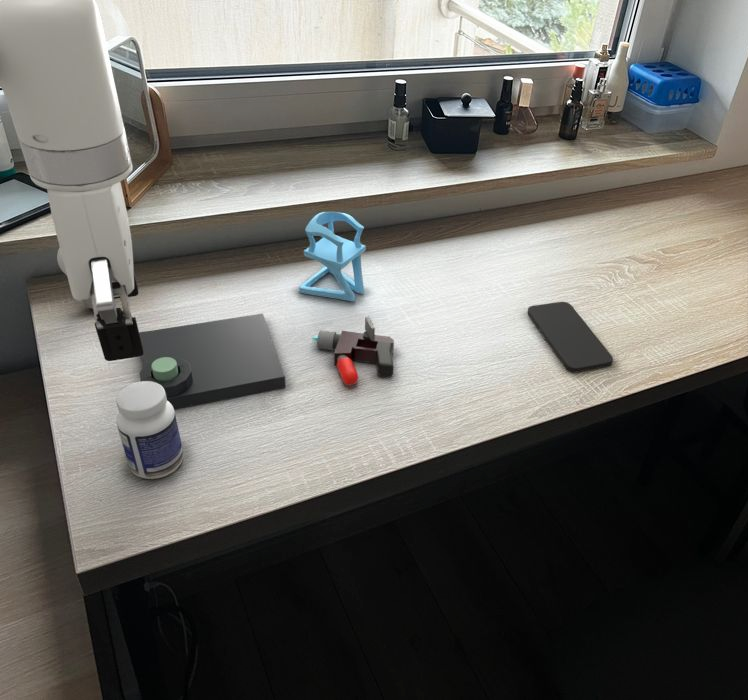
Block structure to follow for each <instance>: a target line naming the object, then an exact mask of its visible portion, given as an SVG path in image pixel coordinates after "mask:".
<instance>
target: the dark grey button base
mask: <svg viewBox="0 0 748 700" xmlns="http://www.w3.org/2000/svg"><path fill="white" fill-rule="evenodd" d="M139 334H140V338H141V342H142V346H143V352H144V354H143V355H142V356H141V363H142V368H141V370H140V371H139V378H140V380H139V381H140V382H142V381H151V382H155V383H158V384H160V385H161V386H162V387H163V388H164V390H165V393H166V397H167V401H169V402H170V403H171V405H172V406H173V408H174V410H177V409H182V408H188V407H192V406H197V405H203V404H207V403H213V402H218V401H224V400H228V399H229V400H230V399H234V398H239V397H245V396H249V395H254V394H260V393H264V392H265V393H266V392H271V391H276V390H281V389H286V387H287V386H286V376H285V372H284V369H283V368H282V363H281V361H280V358H279V356H278V353H277V350H276V348H275V347H276V346H275V344H274V342H273V341H274V340H273V339H272V336H271V332H270V330H269V327H268V324H267V321H266V318H265V316H264V313H257V314H251V315H244V316H237V317H231V318H224V319H218V320H211V321H205V322H198V323H191V324H186V325H185V324H184V325H178V326H173V327H167V328H166V327H165V328H159V329H152V330H145V331H139ZM163 357H170V358H173V359H174V360H175V361H176V362H177V367H178V375H177V377H176V378H174V379H172V380H169V381H158V380H156V379H155V378H154V376H153V371H152V367H151V366H152V363H153V362H154V361H155V360H157V359H159V358H163Z"/></svg>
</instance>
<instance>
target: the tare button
mask: <svg viewBox="0 0 748 700" xmlns="http://www.w3.org/2000/svg"><path fill="white" fill-rule="evenodd" d="M151 367H152V371H153V376H154V378H155V379H156V380H158V381H169V380H172V379H174V378H176V377H177V375H178V367H177V362H176V361H175V360H174V359H173V358H170V357H163V358H159V359H157V360H155V361H154V362H153V363H152V366H151Z"/></svg>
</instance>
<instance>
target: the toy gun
mask: <svg viewBox="0 0 748 700" xmlns="http://www.w3.org/2000/svg"><path fill="white" fill-rule="evenodd" d="M375 329H376V327H375V325H374V324H373V321H372V320H371V318H370V316H369V315H368V316H365V317H364V330H365V331H364V332H356V331H349V330H348V331H347V330H341V332H340V333H337V332H336V331H330V330H321V329H320V330H318V332H317V333H318V334H317V336H314V337H311V339H312V340H314V341H316V347H317V349H321V350H330V351H334V352H333V364H334V366H336V368H337V370H338V373H339V376H340V378H341V381H342V382H343V384H344V385H347V386H353V385H355V384H356V383H357V382H358V381H359V375H358V372H357V369H356V366H355V365H354V363H353V361H356V362H363V363H373V364H376V372H377V375H378V376H381V377H389V378H390V377H393V376H394V361H393V355H394V351H395V348H394V347H395V339H393V338H392V337H391V336H387V335H381V334H376V333H375V331H376V330H375Z"/></svg>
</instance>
